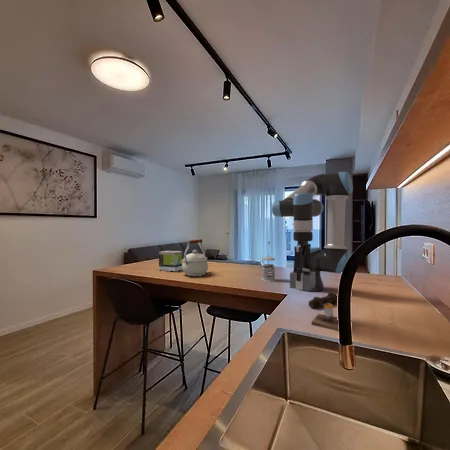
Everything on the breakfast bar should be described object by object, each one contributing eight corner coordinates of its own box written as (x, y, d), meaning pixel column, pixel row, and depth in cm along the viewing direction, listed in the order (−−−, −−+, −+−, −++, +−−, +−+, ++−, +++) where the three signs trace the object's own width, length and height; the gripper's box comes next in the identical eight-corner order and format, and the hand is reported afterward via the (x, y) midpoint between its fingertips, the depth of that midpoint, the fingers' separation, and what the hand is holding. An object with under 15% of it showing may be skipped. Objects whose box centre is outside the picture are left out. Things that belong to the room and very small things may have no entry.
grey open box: (296, 283, 114) (296, 269, 114) (315, 286, 109) (315, 271, 109) (289, 287, 107) (289, 273, 107) (309, 290, 103) (309, 275, 103)
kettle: (195, 279, 173) (195, 241, 172) (174, 276, 183) (174, 240, 182) (216, 272, 194) (216, 238, 193) (197, 270, 204) (197, 238, 203)
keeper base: (318, 316, 107) (318, 313, 107) (345, 321, 101) (345, 319, 101) (311, 324, 98) (311, 321, 98) (340, 330, 93) (340, 328, 93)
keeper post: (325, 318, 102) (325, 301, 102) (334, 320, 100) (334, 302, 100) (323, 320, 99) (323, 303, 99) (332, 322, 97) (332, 305, 97)
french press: (271, 282, 164) (272, 242, 164) (255, 279, 171) (255, 241, 171) (278, 279, 172) (279, 241, 171) (263, 277, 179) (263, 240, 178)
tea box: (182, 270, 204) (182, 251, 204) (174, 272, 195) (174, 252, 195) (166, 268, 210) (166, 250, 210) (158, 270, 201) (158, 251, 201)
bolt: (309, 312, 117) (332, 305, 124) (317, 309, 113) (340, 303, 120) (304, 299, 119) (327, 293, 126) (311, 296, 115) (334, 290, 123)
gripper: (301, 229, 118) (301, 280, 119) (284, 232, 101) (284, 291, 102) (319, 230, 114) (318, 282, 115) (304, 232, 97) (304, 294, 98)
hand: (302, 286), depth 108 cm, fingers closed on grey open box, 8 cm apart
